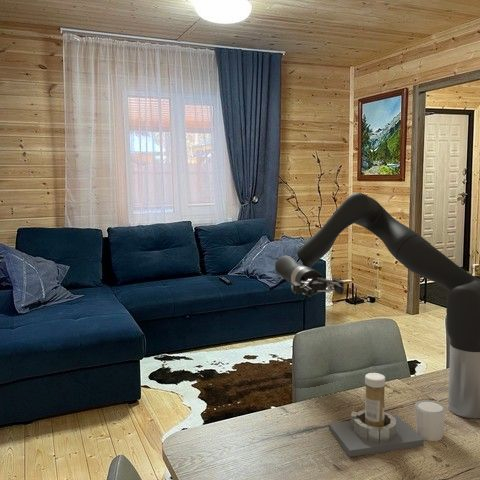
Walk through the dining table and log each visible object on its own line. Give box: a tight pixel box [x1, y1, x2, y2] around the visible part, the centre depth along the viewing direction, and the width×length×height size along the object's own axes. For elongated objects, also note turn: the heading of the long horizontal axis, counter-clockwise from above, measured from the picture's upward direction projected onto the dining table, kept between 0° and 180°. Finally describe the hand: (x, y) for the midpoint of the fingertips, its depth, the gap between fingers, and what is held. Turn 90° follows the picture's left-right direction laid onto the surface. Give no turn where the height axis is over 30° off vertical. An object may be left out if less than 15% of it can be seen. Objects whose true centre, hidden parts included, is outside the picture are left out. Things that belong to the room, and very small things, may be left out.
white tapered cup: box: [414, 399, 447, 442], centre depth 113 cm, size 7×7×7 cm
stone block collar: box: [350, 409, 396, 442], centre depth 113 cm, size 9×10×3 cm
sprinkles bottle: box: [364, 372, 386, 427], centre depth 112 cm, size 5×5×13 cm
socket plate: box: [328, 413, 425, 458], centre depth 113 cm, size 18×12×2 cm, turn 101°
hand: (326, 292), depth 130 cm, fingers open, 8 cm apart
